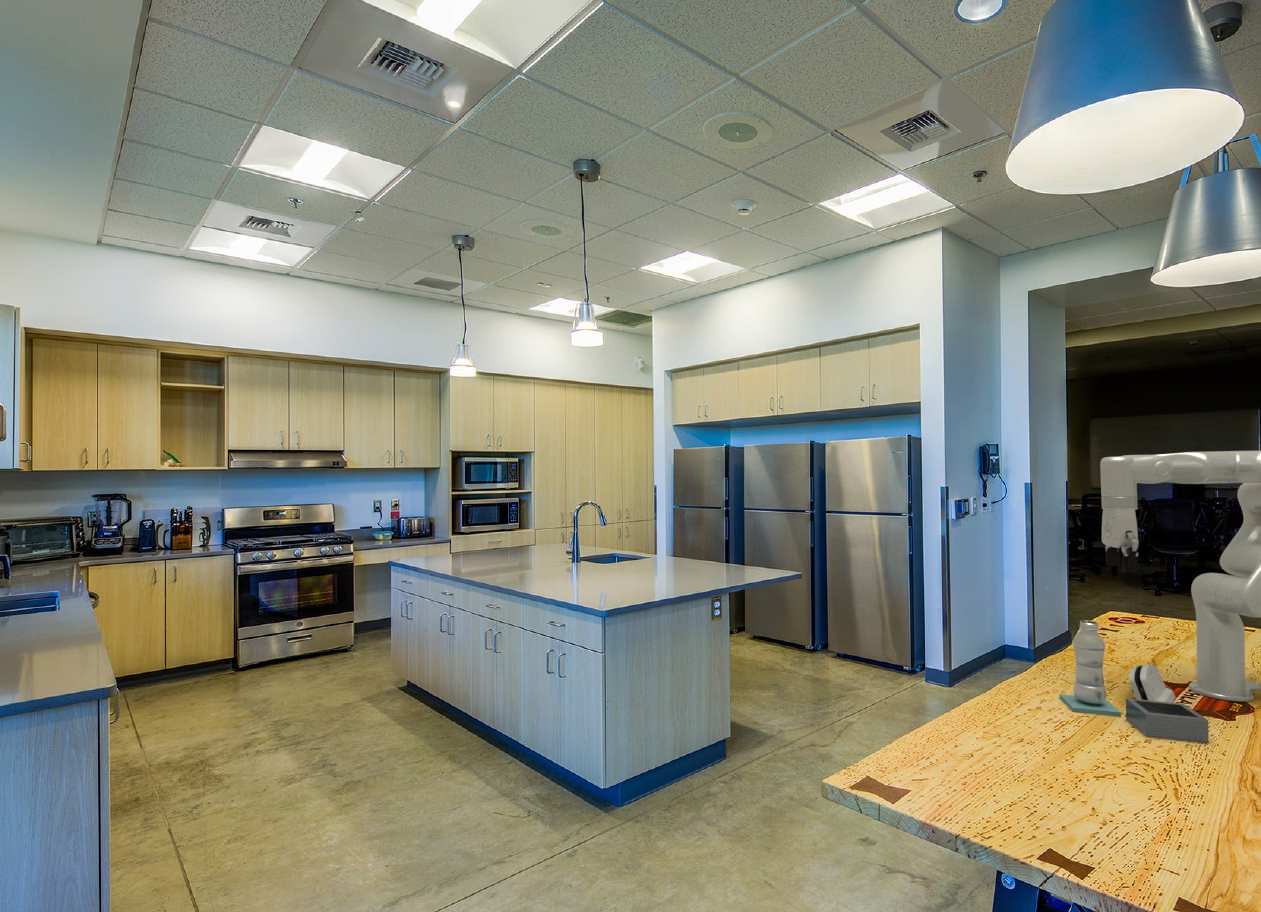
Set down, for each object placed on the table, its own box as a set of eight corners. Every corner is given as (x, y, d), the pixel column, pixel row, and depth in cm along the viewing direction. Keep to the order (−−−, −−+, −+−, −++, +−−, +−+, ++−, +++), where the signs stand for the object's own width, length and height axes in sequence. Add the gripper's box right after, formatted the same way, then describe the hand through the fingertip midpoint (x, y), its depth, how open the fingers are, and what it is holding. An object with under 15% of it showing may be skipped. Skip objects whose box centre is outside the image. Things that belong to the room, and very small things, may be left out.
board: (1104, 702, 167) (1104, 698, 167) (1121, 716, 157) (1121, 712, 157) (1059, 698, 170) (1059, 694, 170) (1073, 711, 160) (1073, 707, 160)
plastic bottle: (1107, 709, 159) (1106, 626, 159) (1073, 704, 162) (1073, 622, 163) (1105, 701, 164) (1104, 621, 165) (1072, 696, 168) (1072, 618, 168)
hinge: (1165, 713, 159) (1147, 671, 162) (1142, 715, 162) (1124, 673, 165) (1175, 697, 171) (1159, 658, 173) (1154, 699, 174) (1138, 660, 176)
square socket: (1183, 725, 152) (1183, 703, 152) (1208, 743, 142) (1208, 720, 142) (1125, 719, 155) (1125, 698, 155) (1146, 736, 145) (1145, 714, 145)
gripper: (1089, 501, 181) (1092, 563, 181) (1117, 505, 165) (1119, 574, 165) (1121, 501, 179) (1123, 564, 179) (1152, 505, 163) (1154, 574, 163)
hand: (1121, 568), depth 172 cm, fingers open, 9 cm apart
